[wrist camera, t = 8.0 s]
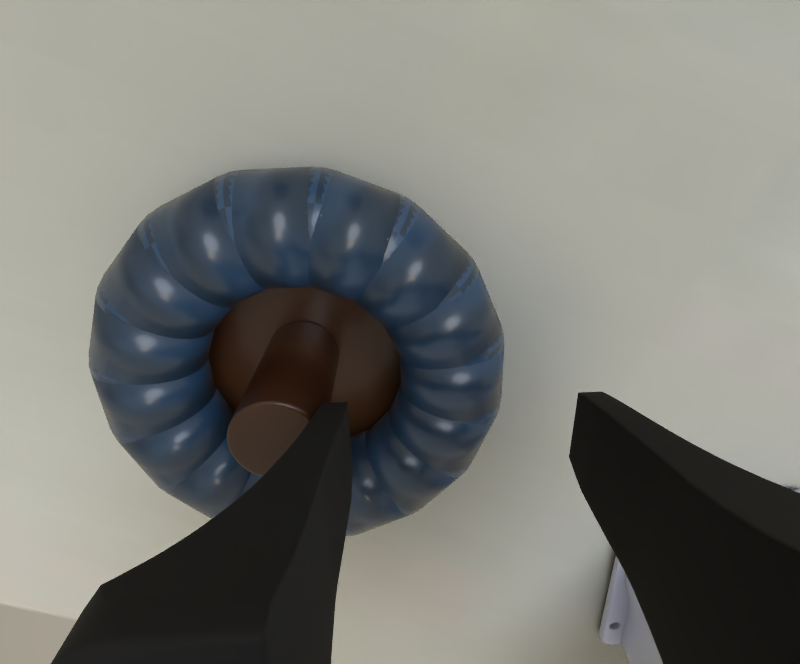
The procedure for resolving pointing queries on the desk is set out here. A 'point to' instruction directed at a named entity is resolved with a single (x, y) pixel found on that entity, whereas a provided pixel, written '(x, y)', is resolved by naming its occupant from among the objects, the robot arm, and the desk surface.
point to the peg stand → (298, 368)
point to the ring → (290, 268)
